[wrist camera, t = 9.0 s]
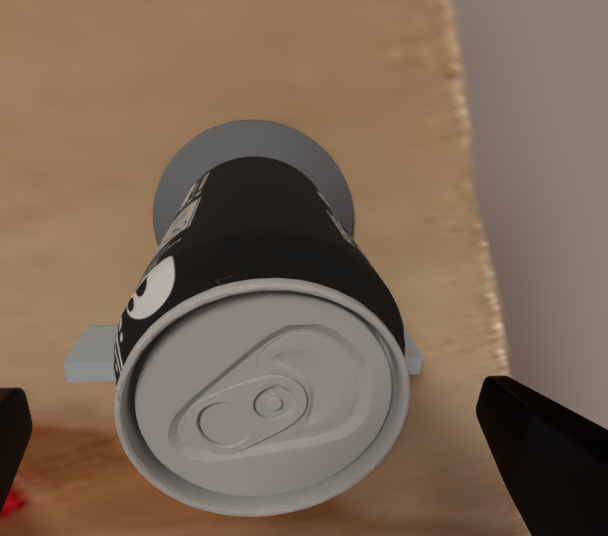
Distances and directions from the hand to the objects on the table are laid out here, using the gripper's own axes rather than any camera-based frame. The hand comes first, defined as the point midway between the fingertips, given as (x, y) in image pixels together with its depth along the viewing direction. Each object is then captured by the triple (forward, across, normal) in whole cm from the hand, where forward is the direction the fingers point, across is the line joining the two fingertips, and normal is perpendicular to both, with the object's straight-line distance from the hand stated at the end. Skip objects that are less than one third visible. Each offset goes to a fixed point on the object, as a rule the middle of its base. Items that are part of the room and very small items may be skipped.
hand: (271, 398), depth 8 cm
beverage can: (+12, 0, 0) cm, 12 cm away
